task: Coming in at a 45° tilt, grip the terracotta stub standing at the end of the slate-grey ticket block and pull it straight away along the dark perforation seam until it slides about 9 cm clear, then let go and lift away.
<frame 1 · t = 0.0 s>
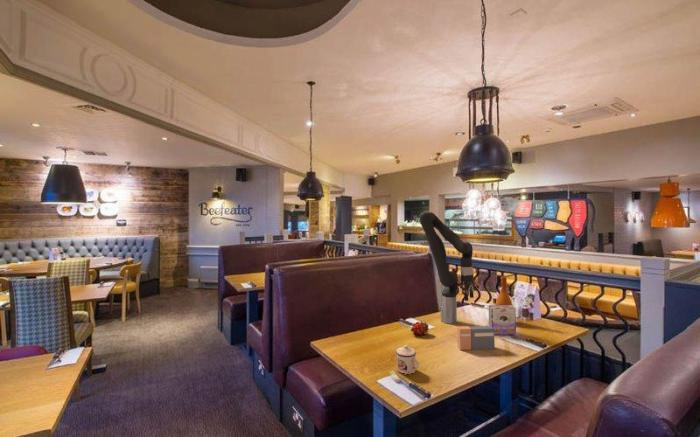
hand: (469, 299, 205), 17 cm above the table, tool pointing down, fingers open, 8 cm apart
brown tapered piece: (504, 322, 212), on the table
candy box: (502, 333, 193), on the table
ticket block: (481, 347, 173), on the table
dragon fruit: (419, 335, 193), on the table
teacup with lid: (408, 371, 150), on the table
ticket stub: (464, 337, 173), point 6 cm above the table, slide at 0.0 cm
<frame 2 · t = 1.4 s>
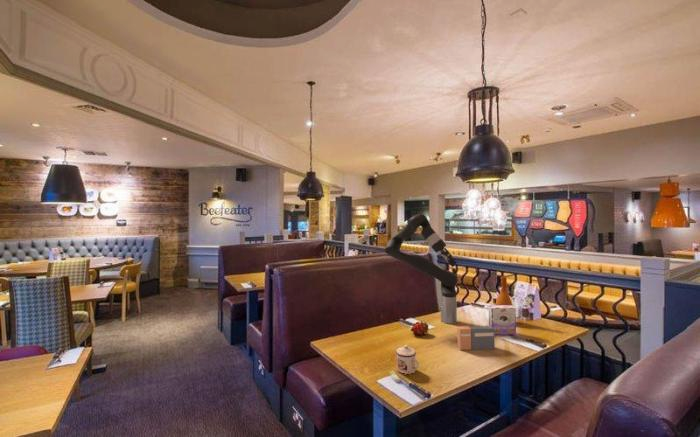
hand: (454, 265, 182), 43 cm above the table, tool tilted 40°, fingers open, 8 cm apart
nothing on the table moved.
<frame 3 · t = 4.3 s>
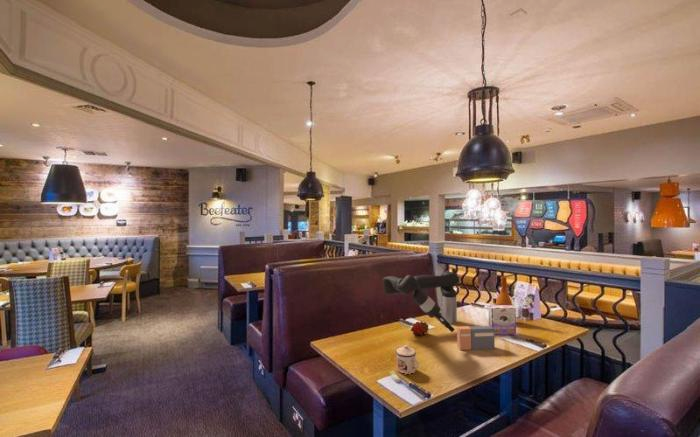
hand: (450, 327, 172), 12 cm above the table, tool tilted 45°, fingers open, 8 cm apart
nothing on the table moved.
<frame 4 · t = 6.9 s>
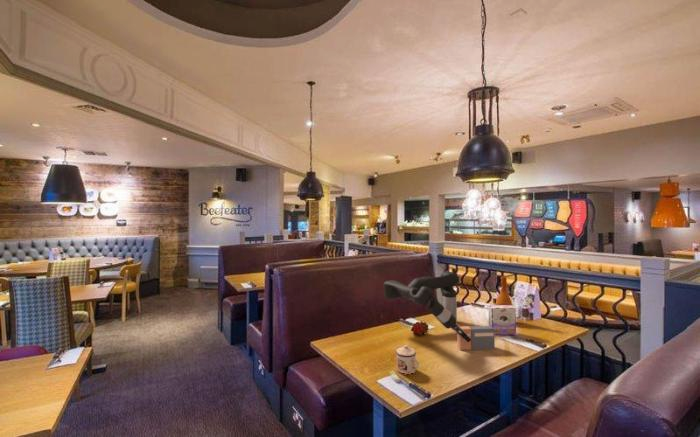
hand: (467, 339, 173), 5 cm above the table, tool tilted 45°, fingers closed on ticket stub, 4 cm apart
ticket stub: (464, 337, 173), point 6 cm above the table, slide at 0.0 cm, touching gripper
everything else where it was.
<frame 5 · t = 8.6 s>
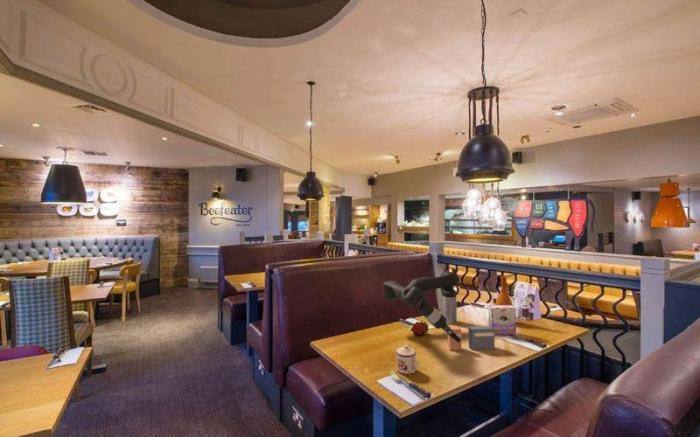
hand: (457, 339, 173), 5 cm above the table, tool tilted 45°, fingers closed on ticket stub, 4 cm apart
ticket stub: (454, 338, 173), point 6 cm above the table, slide at 5.3 cm, touching gripper
everything else where it was.
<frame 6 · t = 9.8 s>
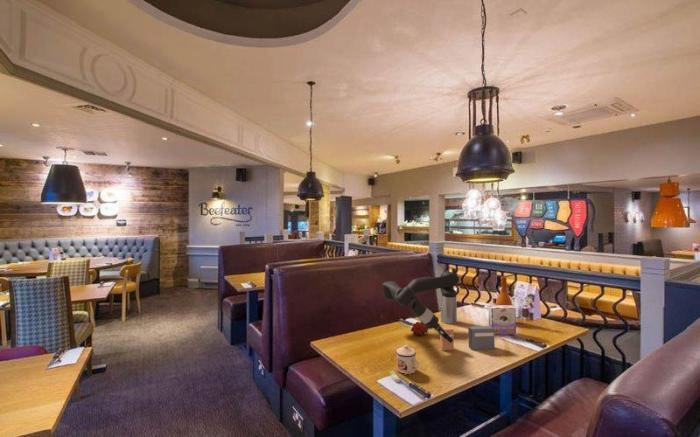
hand: (450, 339, 173), 5 cm above the table, tool tilted 45°, fingers closed on ticket stub, 4 cm apart
ticket stub: (446, 338, 173), point 6 cm above the table, slide at 9.4 cm, touching gripper
everything else where it was.
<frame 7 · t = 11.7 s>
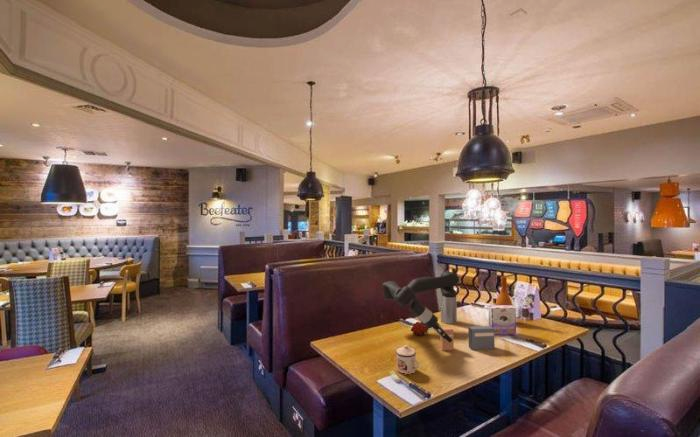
hand: (448, 338, 173), 6 cm above the table, tool tilted 45°, fingers open, 8 cm apart
ticket stub: (446, 338, 173), point 6 cm above the table, slide at 9.5 cm
everything else where it was.
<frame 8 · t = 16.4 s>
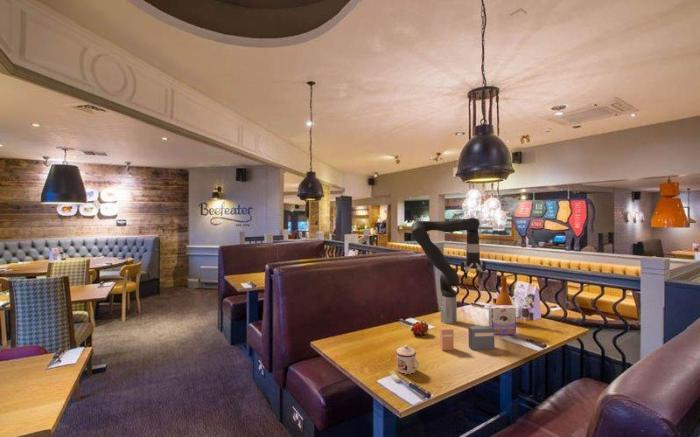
hand: (473, 278, 193), 33 cm above the table, tool pointing down, fingers open, 8 cm apart
nothing on the table moved.
at the end: ticket stub slide at 9.5 cm; the gripper is holding nothing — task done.
